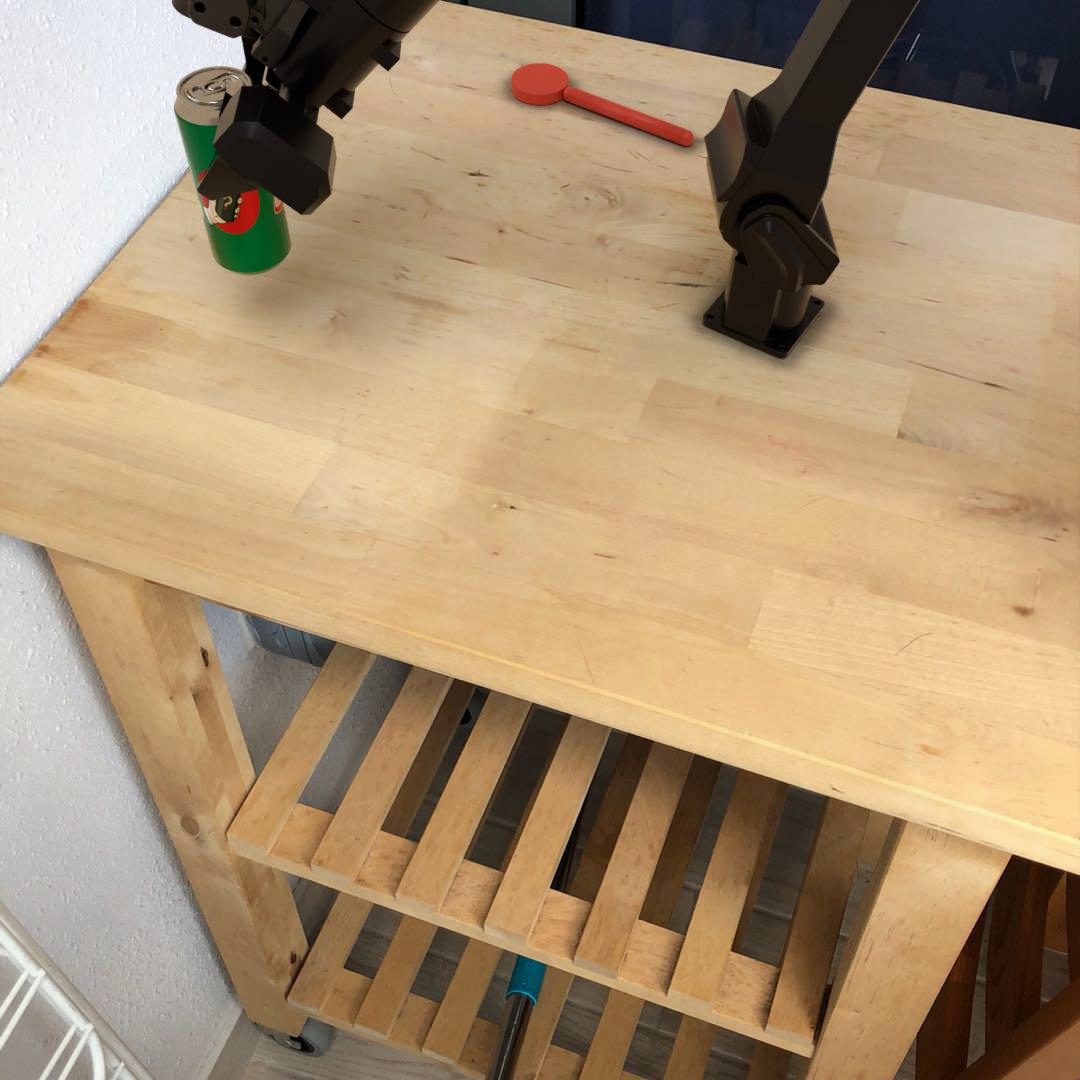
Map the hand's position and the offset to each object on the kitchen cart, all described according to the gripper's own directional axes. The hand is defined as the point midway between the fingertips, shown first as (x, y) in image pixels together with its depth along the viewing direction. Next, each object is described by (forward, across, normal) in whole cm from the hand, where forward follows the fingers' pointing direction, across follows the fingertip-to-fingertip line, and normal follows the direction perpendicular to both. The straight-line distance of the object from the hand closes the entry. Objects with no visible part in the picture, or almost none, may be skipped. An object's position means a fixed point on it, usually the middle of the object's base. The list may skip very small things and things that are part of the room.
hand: (210, 167), depth 72 cm
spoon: (-9, -25, +27) cm, 38 cm away
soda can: (+4, 0, +6) cm, 7 cm away
